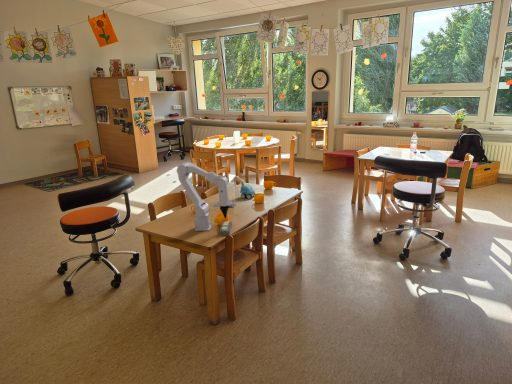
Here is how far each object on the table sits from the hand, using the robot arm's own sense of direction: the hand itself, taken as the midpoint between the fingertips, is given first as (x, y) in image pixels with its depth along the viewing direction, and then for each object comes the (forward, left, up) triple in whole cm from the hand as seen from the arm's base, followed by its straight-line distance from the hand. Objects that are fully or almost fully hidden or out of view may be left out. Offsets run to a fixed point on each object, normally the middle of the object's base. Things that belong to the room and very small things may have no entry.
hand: (225, 217), depth 216 cm
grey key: (0, -1, -7) cm, 7 cm away
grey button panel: (0, -1, -8) cm, 8 cm away
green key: (0, -6, -7) cm, 9 cm away
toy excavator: (+7, +65, -9) cm, 66 cm away
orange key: (0, +5, -8) cm, 9 cm away
